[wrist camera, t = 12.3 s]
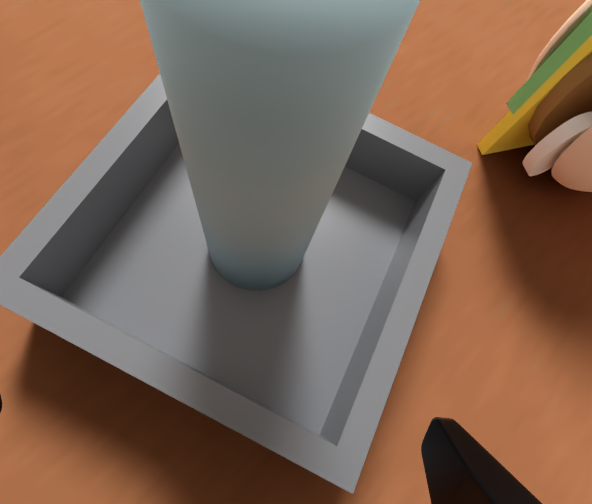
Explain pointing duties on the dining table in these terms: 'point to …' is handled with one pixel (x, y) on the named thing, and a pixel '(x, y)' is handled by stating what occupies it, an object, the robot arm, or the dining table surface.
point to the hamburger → (554, 108)
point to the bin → (237, 301)
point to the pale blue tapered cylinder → (269, 114)
